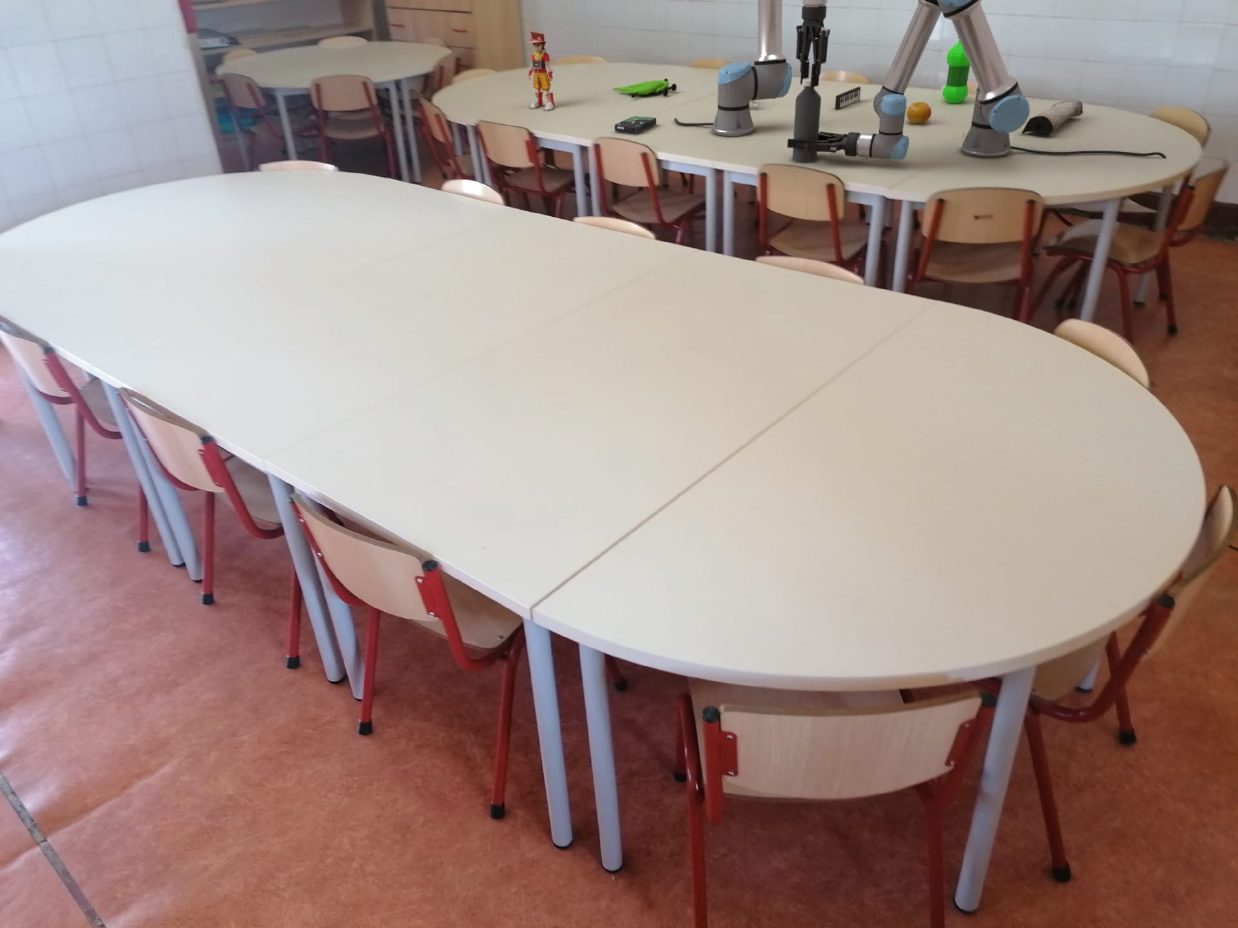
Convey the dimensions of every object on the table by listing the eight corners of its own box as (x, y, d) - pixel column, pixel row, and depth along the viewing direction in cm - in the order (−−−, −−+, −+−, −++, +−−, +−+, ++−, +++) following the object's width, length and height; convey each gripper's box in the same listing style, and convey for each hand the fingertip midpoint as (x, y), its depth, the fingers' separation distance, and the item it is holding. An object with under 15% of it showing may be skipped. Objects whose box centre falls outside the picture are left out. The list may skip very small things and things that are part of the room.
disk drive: (637, 135, 339) (656, 124, 349) (637, 127, 338) (656, 117, 348) (614, 132, 344) (634, 122, 354) (613, 125, 343) (633, 115, 353)
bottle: (819, 156, 305) (825, 79, 291) (812, 163, 299) (818, 84, 285) (796, 154, 308) (801, 77, 294) (789, 161, 302) (793, 83, 288)
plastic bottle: (973, 101, 354) (984, 32, 339) (955, 106, 349) (966, 36, 335) (952, 97, 361) (962, 29, 346) (934, 102, 356) (944, 33, 342)
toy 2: (686, 85, 398) (631, 84, 414) (685, 72, 395) (629, 72, 411) (651, 104, 381) (596, 103, 397) (650, 92, 378) (594, 91, 394)
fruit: (901, 115, 329) (915, 95, 326) (903, 118, 337) (916, 98, 334) (920, 127, 328) (935, 107, 325) (921, 130, 336) (935, 111, 333)
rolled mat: (1050, 105, 331) (1074, 88, 323) (1064, 126, 331) (1088, 109, 323) (1017, 127, 314) (1042, 110, 305) (1032, 149, 314) (1057, 132, 306)
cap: (799, 85, 291) (799, 79, 290) (810, 82, 293) (810, 77, 292) (808, 87, 288) (808, 81, 287) (819, 85, 289) (819, 79, 288)
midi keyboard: (837, 109, 354) (838, 96, 352) (834, 109, 355) (835, 95, 352) (859, 100, 365) (861, 87, 362) (857, 99, 366) (858, 86, 363)
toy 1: (525, 109, 381) (517, 32, 364) (534, 104, 388) (527, 28, 371) (550, 110, 377) (543, 32, 360) (559, 105, 384) (553, 28, 367)
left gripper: (786, 4, 282) (783, 82, 295) (824, 9, 269) (818, 91, 282) (805, 1, 285) (800, 79, 298) (843, 6, 272) (836, 87, 285)
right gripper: (849, 165, 288) (781, 159, 297) (866, 147, 303) (800, 142, 312) (851, 141, 283) (782, 136, 292) (868, 125, 298) (802, 120, 307)
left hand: (809, 85), depth 290 cm, fingers closed on cap, 4 cm apart
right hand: (792, 139), depth 302 cm, fingers closed on bottle, 8 cm apart
